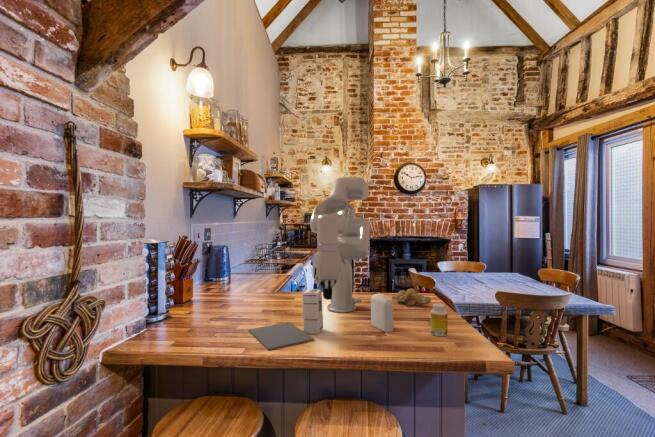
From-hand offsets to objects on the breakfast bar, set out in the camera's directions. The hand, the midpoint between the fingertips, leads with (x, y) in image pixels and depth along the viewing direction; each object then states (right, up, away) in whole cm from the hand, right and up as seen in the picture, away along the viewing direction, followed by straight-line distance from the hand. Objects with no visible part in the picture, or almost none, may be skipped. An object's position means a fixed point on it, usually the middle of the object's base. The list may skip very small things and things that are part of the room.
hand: (327, 298), depth 124 cm
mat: (-16, -11, -7) cm, 21 cm away
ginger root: (+38, -11, +34) cm, 53 cm away
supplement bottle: (+39, -11, -6) cm, 41 cm away
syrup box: (-5, -11, -2) cm, 12 cm away
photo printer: (+20, -11, 0) cm, 23 cm away
